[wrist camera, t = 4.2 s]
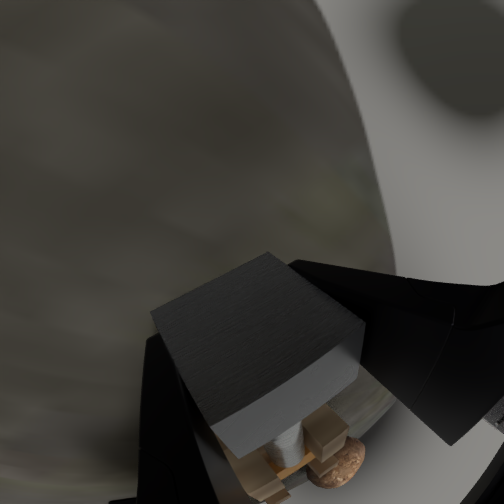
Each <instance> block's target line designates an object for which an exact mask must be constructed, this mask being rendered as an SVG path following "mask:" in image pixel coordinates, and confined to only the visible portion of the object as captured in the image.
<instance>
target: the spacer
mask: <svg viewBox="0 0 504 504" xmlns="http://www.w3.org/2000/svg"><path fill="white" fill-rule="evenodd" d="M304 446H305V445H304ZM314 458H316V457H315V456H314V455H313V454H312V452H311V451H310V450H309V449H308V448H307V447H306V446H305V455H304V457H303V459H302V460H301V462H300V463H298V464H297V465H295V466H293V467H288V468H283V467H279V466H277V465H275V464H274V463H273V462H271V463H269V466H270V467H271V468H272V470H273V471H274V472H275V473H276V475H277V476H278V477H279V479H280V480H282V479H284V478H285V477H287V476H289V475H290V474H292V473H293V472H295V471H296V470H298V469H300V468H301V467H303V466H304V465H305V464H307V463H308V462H310V461H311V460H313V459H314Z"/></svg>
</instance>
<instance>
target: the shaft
mask: <svg viewBox="0 0 504 504" xmlns="http://www.w3.org/2000/svg"><path fill="white" fill-rule="evenodd" d="M150 313H151V316H152V318H153V320H154V322H155V324H156V327H157V329H158V331H159V333H160V335H161V336H162V338H163V340H164V342H165V344H166V346H167V348H168V351H169V353H170V355H171V356H172V358H173V360H174V362H175V364H176V367H177V369H178V371H179V373H180V375H181V377H182V379H183V381H184V383H185V385H186V387H187V388H188V390H189V392H190V394H191V396H192V397H193V399H194V401H195V403H196V404H197V406H198V408H199V410H200V411H201V413H202V415H203V417H204V418H205V420H206V422H207V423H208V425H209V427H210V428H211V429H212V430H213V431H214V432H215V434H216V435H217V436H218V437H219V438H220V439H221V440H222V442H223V443H224V444H225V445H226V446H227V447H228V448H229V449H230V450H231V451H232V453H233V454H234V455H235V456H236V457H237V458H238V459H240V458H242V457H243V456H245V455H247V454H249V453H251V452H252V451H254V450H256V449H257V448H259V447H261V446H262V445H263V447H264V449H265V451H266V452H267V454H268V456H269V458H270V459H271V461H272V462H273V463H274V464H275V465H277V466H279V467H283V468H288V467H293V466H295V465H297V464H298V463H300V462H301V460H302V459H303V457H304V455H305V446H304V437H303V428H302V420H303V419H304V418H305V417H307V416H308V415H310V414H311V413H312V412H314V411H315V410H317V409H318V408H319V407H321V406H322V405H323V404H325V403H326V402H327V401H329V400H330V399H331V398H333V397H334V396H335V395H336V394H338V393H339V392H340V391H342V390H343V389H344V388H345V387H347V386H348V385H349V384H350V383H351V382H353V381H354V380H355V379H356V378H357V374H358V369H359V363H360V358H361V352H362V346H363V340H364V333H365V326H366V322H364V321H363V320H362V319H360V318H359V317H357V316H356V315H355V314H353V313H352V312H351V311H349V310H348V309H347V308H345V307H344V306H342V305H341V304H340V303H338V302H337V301H336V300H334V299H333V298H331V297H330V296H329V295H327V294H326V293H325V292H323V291H322V290H320V289H319V288H318V287H316V286H315V285H313V284H312V283H311V282H309V281H308V280H306V279H305V278H304V277H302V276H301V275H300V274H298V273H297V272H295V271H294V270H293V269H291V268H290V267H289V266H287V265H286V264H285V263H283V262H282V261H280V260H279V259H278V258H276V257H275V256H273V255H272V254H271V253H269V252H266V253H265V254H263V255H261V256H259V257H257V258H255V259H253V260H251V261H249V262H247V263H245V264H243V265H241V266H239V267H237V268H235V269H233V270H231V271H229V272H227V273H226V274H224V275H222V276H220V277H218V278H216V279H214V280H212V281H210V282H208V283H206V284H204V285H202V286H200V287H198V288H196V289H194V290H192V291H190V292H188V293H186V294H184V295H182V296H180V297H178V298H176V299H174V300H172V301H170V302H168V303H166V304H164V305H163V306H161V307H159V308H157V309H155V310H153V311H151V312H150Z"/></svg>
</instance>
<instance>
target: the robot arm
mask: <svg viewBox="0 0 504 504" xmlns="http://www.w3.org/2000/svg"><path fill="white" fill-rule="evenodd" d="M287 266H289V267H290V268H291V269H293V270H294V271H295V272H297V273H298V274H300V275H301V276H302V277H304V278H305V279H306V280H308V281H309V282H311V283H312V284H313V285H315V286H316V287H318V288H319V289H320V290H322V291H323V292H325V293H326V294H327V295H329V296H330V297H331V298H333V299H334V300H336V301H337V302H338V303H340V304H341V305H342V306H344V307H345V308H347V309H348V310H349V311H351V312H352V313H353V314H355V315H356V316H357V317H359V318H360V319H362V320H363V321H364V322H366V326H365V333H364V340H363V346H362V352H361V358H360V363H359V364H361V365H362V366H363V367H364V368H365V369H366V370H367V371H368V372H369V373H370V374H371V375H372V376H374V377H375V378H376V379H377V380H378V381H379V382H380V383H381V384H382V385H383V386H384V387H386V388H387V389H388V390H389V391H390V392H391V393H392V394H393V395H394V396H395V397H396V398H398V399H399V400H400V401H401V402H402V403H403V404H404V405H405V406H406V407H407V408H408V409H410V411H412V412H413V413H414V414H415V415H416V416H417V417H418V418H419V419H420V420H421V421H423V422H424V423H425V424H426V425H427V426H428V427H429V428H430V429H432V431H434V432H435V433H436V434H437V435H438V436H439V437H440V438H442V440H444V441H445V442H446V443H447V444H448V445H450V446H452V445H453V444H454V443H456V442H457V441H458V440H459V439H460V438H461V437H463V436H464V435H465V434H466V433H467V432H468V431H469V430H470V429H471V428H472V427H473V426H475V425H476V424H477V423H478V422H479V421H480V420H481V419H483V420H485V421H486V422H487V423H489V424H490V425H491V426H493V427H494V428H495V429H498V430H499V431H501V432H502V433H503V434H504V282H501V283H498V284H496V285H490V286H478V285H466V284H453V283H443V282H433V281H426V280H419V279H413V278H405V277H401V276H395V275H389V274H383V273H377V272H371V271H365V270H359V269H353V268H347V267H341V266H335V265H329V264H323V263H317V262H311V261H305V260H295V261H293V262H291V263H289V264H288V265H287ZM139 448H140V449H139V451H138V487H137V499H132V500H126V501H118V502H111V503H108V504H252V502H251V500H250V499H249V497H248V495H247V494H246V492H245V490H244V488H243V487H242V485H241V483H240V481H239V480H238V478H237V476H236V474H235V472H234V470H233V469H232V467H231V465H230V463H229V461H228V459H227V457H226V455H225V453H224V451H223V449H222V447H221V445H220V443H219V441H218V439H217V437H216V435H215V433H214V431H213V430H212V429H211V428H210V427H209V425H208V423H207V422H206V420H205V418H204V417H203V415H202V413H201V411H200V410H199V408H198V406H197V404H196V403H195V401H194V399H193V397H192V396H191V394H190V392H189V390H188V388H187V387H186V385H185V383H184V381H183V379H182V377H181V375H180V373H179V371H178V369H177V367H176V364H175V362H174V360H173V358H172V356H171V355H170V353H169V351H168V348H167V346H166V344H165V342H164V340H163V338H162V336H161V335H160V333H157V334H155V335H153V336H151V337H149V338H148V339H147V340H146V347H145V356H144V366H143V377H142V389H141V404H140V422H139ZM460 504H504V442H503V444H502V445H501V447H500V449H499V450H498V452H497V453H496V455H495V457H494V458H493V460H492V461H491V463H490V464H489V466H488V467H487V469H486V470H485V472H484V473H483V474H482V476H481V477H480V479H479V480H478V481H477V483H476V484H475V485H474V487H473V488H472V489H471V491H470V492H469V493H468V494H467V496H466V497H465V498H464V499H463V500H462V502H461V503H460Z"/></svg>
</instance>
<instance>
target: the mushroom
mask: <svg viewBox="0 0 504 504" xmlns="http://www.w3.org/2000/svg"><path fill="white" fill-rule="evenodd" d="M333 455H334V456H335V457H336V458H337V459H338V460H339V462H338V465H337V466H335V467H334V468H333V469H331V470H330V471H329V472H327V473H326V474H324V475H323V476H322V477H319V476H318V475H317V474H316V473H315V472H314V471H313V470H312V469H311V468H310V467H309V465H308V464H307V466H306V473H307V478H308V479H309V480H310V481H311V482H312V483H313V484H314V485H316V486H318V487H322V488H326V489H328V488H337V487H339V486H341V485H343V484H345V483H346V482H348V481H349V480H350V479H351V478H352V477H353V476H354V474H355V473H356V472H357V470H358V469H359V467H360V466H361V464H362V462H363V460H364V456H365V446H364V445H363V444H362V443H361V442H360V441H359V439H356V438H353V437H349V436H347V437H346V440H345V443H344V447H342V448H341V449H340V450H338V451H337V452H336V453H335V454H333Z"/></svg>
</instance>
